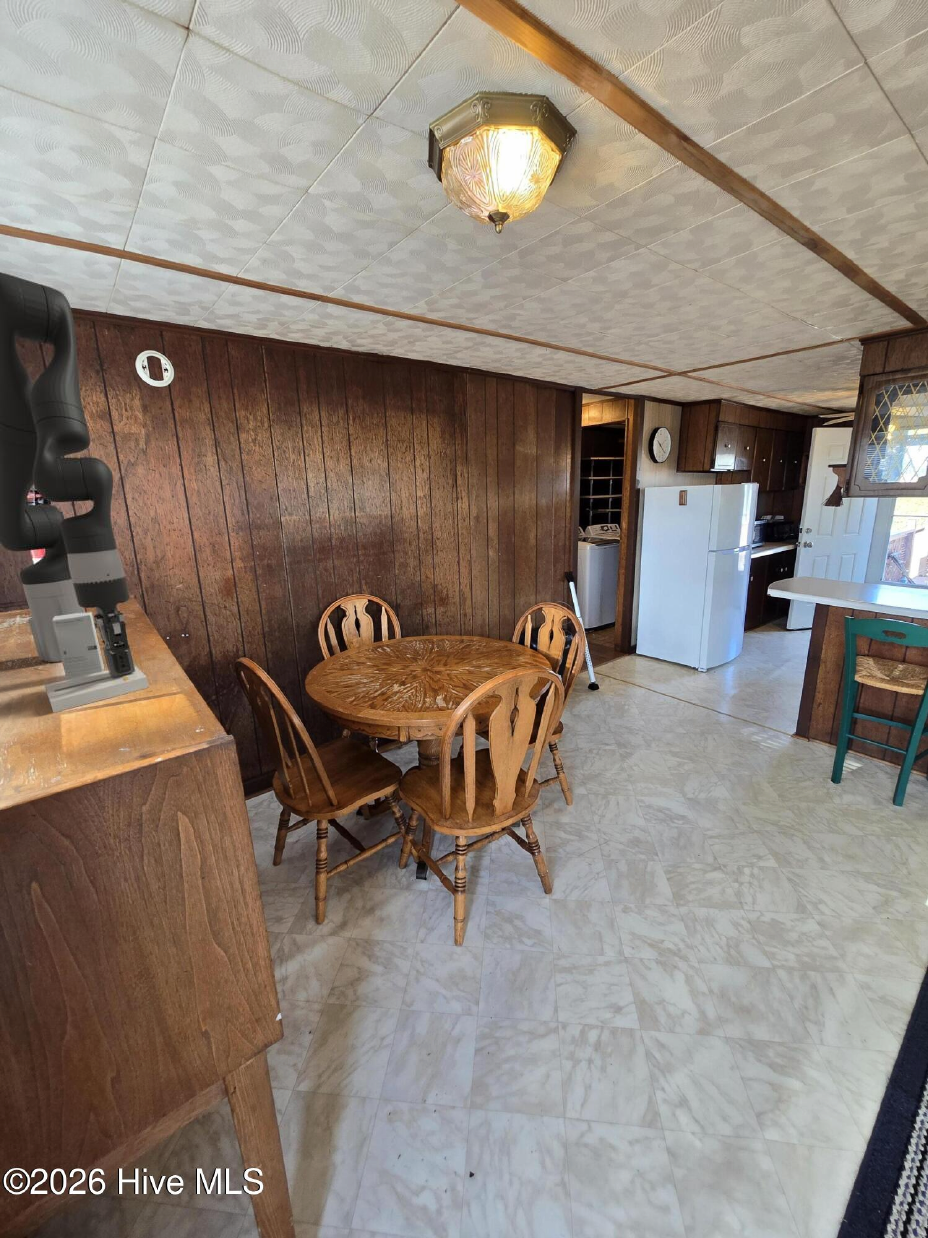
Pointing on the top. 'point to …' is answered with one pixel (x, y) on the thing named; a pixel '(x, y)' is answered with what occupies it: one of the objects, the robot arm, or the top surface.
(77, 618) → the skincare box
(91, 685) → the fader console
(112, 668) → the fader knob
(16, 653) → the top surface
